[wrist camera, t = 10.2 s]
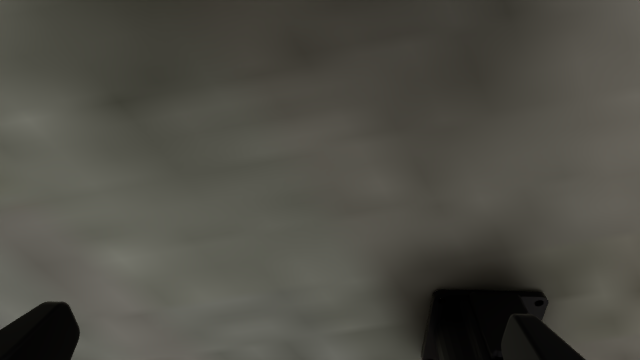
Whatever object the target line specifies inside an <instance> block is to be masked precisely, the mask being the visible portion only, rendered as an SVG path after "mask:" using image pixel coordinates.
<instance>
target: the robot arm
mask: <svg viewBox="0 0 640 360" xmlns="http://www.w3.org/2000/svg"><path fill="white" fill-rule="evenodd" d="M440 298H443V299H440ZM547 305H548V300H547V298H546V296H545V295H544V294H543V293H542V292H523V291H482V290H437V291H435V292H434V293H433V295H432V300H431V305H430V311H429V316H428V322H427V327H426V333H425V338H424V344H423V349H422V355H421V357H422V360H585V359H584V358H583V357H582V356H581V355H580V354H579V353H577V352H576V351H575V350H574V349H573V348H572V347H571V346H569V345H568V344H567V343H566V342H565V341H564V340H563V339H561V338H560V337H559V336H558V335H557V334H556V333H555V332H553V331H552V330H551V329H550V328H549V327H548V326H547V325H545V324H544V323H543V322H542V321H541V320H542V318H543V315H544V313H545V310H546V307H547ZM79 335H80V330H79V326H78V324H77V322H76V319H75V317H74V315H73V313H72V311H71V308H70V306H69V305H68V304H67V303H65V302H44V303H42V304H40V305H39V306H37V307H35V308H34V309H32V310H31V311H29V312H28V313H26V314H24V315H23V316H21V317H20V318H18V319H17V320H15V321H13V322H12V323H10V324H9V325H7V326H6V327H4V328H2V329H1V330H0V360H71V357H72V355H73V352H74V350H75V348H76V345H77V343H78V340H79Z"/></svg>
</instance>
